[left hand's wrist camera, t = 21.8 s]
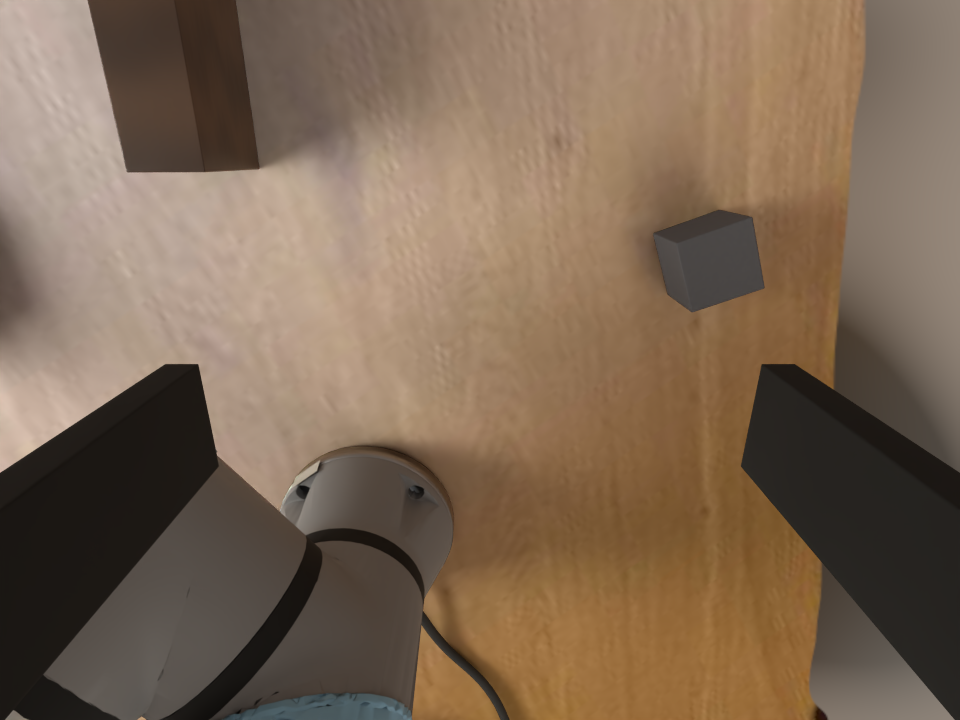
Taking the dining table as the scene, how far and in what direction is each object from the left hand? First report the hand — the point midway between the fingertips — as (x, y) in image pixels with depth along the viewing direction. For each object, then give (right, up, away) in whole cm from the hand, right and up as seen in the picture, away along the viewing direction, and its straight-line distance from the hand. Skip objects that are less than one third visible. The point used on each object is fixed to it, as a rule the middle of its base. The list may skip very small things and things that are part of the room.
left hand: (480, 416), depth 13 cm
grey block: (+16, +9, +27) cm, 33 cm away
